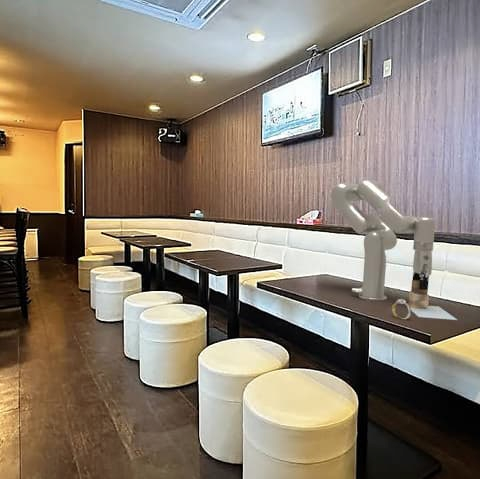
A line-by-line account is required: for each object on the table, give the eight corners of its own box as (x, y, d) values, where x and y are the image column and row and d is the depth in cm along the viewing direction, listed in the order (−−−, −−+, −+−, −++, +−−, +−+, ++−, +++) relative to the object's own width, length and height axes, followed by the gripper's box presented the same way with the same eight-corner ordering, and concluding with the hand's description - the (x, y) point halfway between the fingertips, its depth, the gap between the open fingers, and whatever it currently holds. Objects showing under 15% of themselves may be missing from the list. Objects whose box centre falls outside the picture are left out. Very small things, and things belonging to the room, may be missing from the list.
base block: (412, 308, 164) (413, 294, 163) (408, 304, 170) (409, 290, 169) (427, 309, 163) (429, 295, 163) (423, 305, 169) (424, 291, 169)
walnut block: (414, 293, 164) (415, 282, 163) (411, 291, 169) (412, 279, 168) (427, 294, 163) (428, 282, 163) (423, 292, 168) (424, 280, 168)
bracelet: (389, 318, 150) (391, 297, 150) (394, 317, 152) (396, 296, 152) (406, 323, 145) (408, 301, 144) (411, 321, 147) (413, 300, 146)
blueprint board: (418, 318, 151) (418, 316, 151) (403, 305, 172) (404, 303, 172) (457, 322, 149) (457, 319, 149) (437, 307, 170) (438, 305, 170)
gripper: (440, 249, 155) (436, 292, 157) (425, 245, 172) (422, 283, 174) (420, 248, 156) (416, 291, 158) (407, 244, 173) (404, 282, 175)
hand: (419, 287), depth 166 cm, fingers open, 9 cm apart
